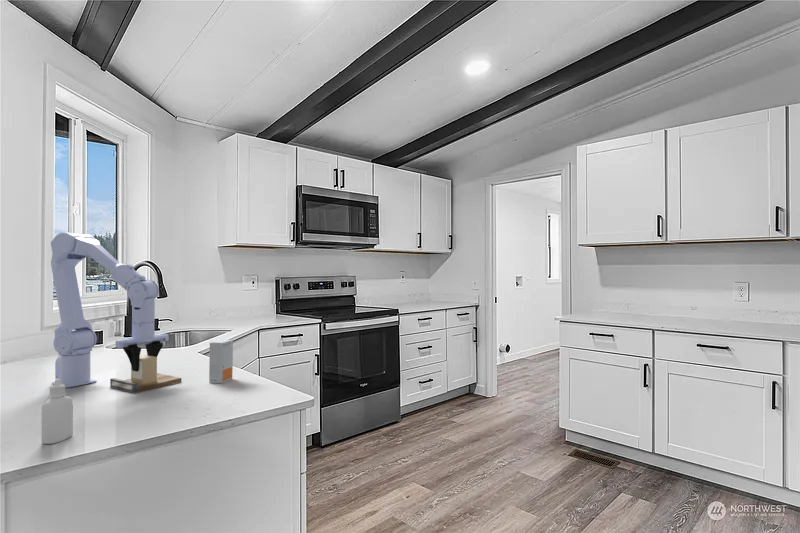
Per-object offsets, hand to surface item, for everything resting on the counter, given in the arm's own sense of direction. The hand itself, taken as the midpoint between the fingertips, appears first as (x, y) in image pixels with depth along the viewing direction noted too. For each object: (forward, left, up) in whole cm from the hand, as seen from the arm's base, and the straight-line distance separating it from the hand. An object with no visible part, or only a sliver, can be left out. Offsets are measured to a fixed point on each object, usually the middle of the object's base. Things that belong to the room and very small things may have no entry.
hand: (143, 369), depth 134 cm
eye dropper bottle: (+27, -33, -5) cm, 43 cm away
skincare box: (+15, +15, -5) cm, 22 cm away
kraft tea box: (0, 0, -3) cm, 3 cm away
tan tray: (0, +1, -5) cm, 5 cm away
